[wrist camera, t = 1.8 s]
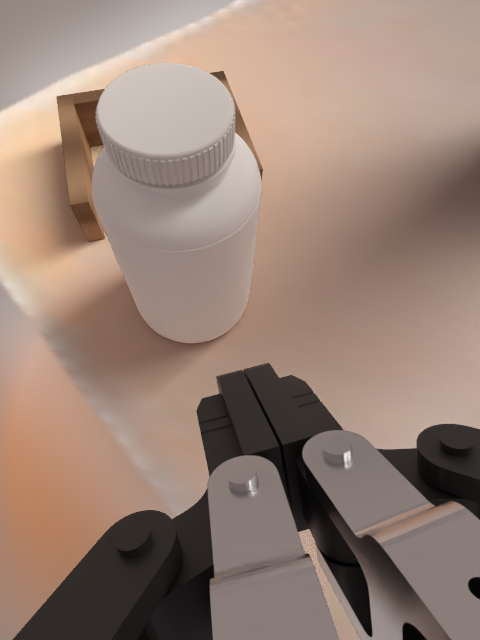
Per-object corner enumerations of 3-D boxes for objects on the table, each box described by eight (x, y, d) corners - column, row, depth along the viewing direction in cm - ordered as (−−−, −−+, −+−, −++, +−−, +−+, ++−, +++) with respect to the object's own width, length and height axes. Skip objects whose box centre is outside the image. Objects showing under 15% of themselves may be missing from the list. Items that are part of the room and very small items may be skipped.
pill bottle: (213, 368, 27) (197, 216, 13) (114, 312, 28) (8, 125, 15) (270, 278, 30) (304, 80, 16) (178, 232, 31) (138, 17, 18)
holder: (259, 207, 32) (262, 169, 29) (88, 241, 31) (69, 205, 27) (223, 114, 37) (223, 70, 33) (74, 139, 35) (56, 96, 32)
